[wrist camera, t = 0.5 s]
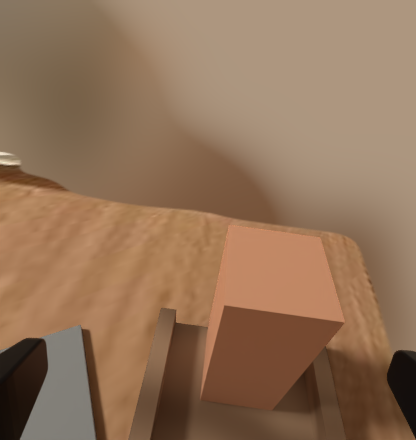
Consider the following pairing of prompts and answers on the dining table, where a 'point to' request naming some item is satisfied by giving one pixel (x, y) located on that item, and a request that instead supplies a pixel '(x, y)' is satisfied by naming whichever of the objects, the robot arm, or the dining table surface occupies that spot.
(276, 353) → the terracotta block
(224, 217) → the dining table surface
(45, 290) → the dining table surface
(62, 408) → the slate mat
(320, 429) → the walnut channel
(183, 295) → the dining table surface
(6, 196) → the dining table surface
